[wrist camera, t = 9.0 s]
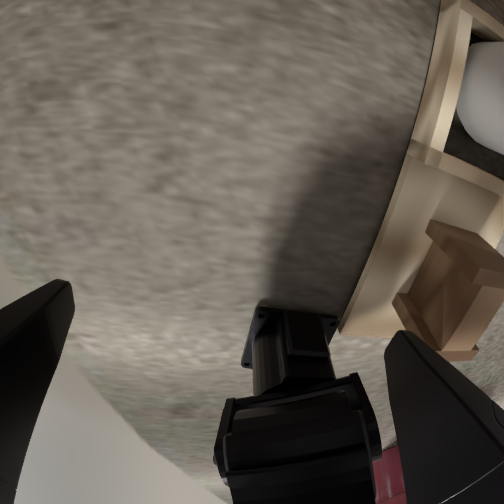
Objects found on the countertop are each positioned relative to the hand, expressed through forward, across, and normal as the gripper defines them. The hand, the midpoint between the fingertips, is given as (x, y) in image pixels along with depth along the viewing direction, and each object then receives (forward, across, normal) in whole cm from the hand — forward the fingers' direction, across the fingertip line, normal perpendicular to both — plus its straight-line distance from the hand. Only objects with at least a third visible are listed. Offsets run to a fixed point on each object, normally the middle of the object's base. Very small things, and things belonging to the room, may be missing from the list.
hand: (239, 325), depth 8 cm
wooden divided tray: (+12, -15, -2) cm, 19 cm away
